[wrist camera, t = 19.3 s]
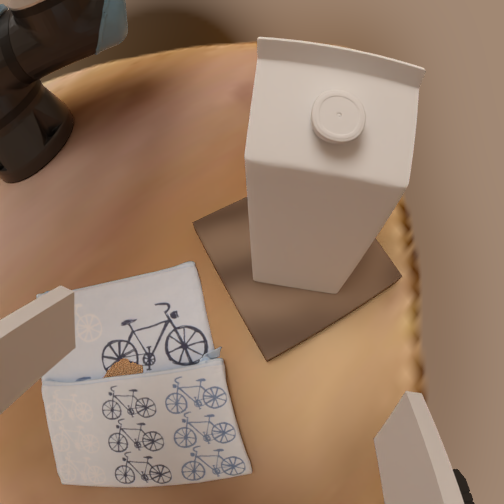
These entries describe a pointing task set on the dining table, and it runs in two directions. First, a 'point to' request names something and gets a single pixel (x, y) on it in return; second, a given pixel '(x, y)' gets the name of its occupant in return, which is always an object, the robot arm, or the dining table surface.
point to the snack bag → (143, 388)
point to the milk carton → (324, 158)
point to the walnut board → (282, 297)
